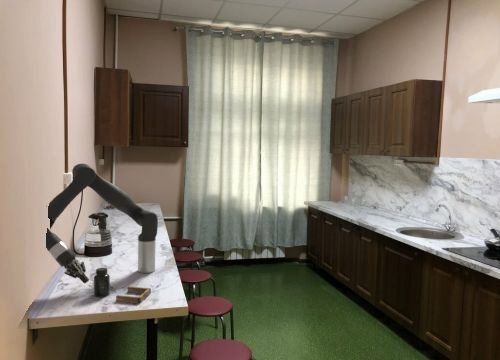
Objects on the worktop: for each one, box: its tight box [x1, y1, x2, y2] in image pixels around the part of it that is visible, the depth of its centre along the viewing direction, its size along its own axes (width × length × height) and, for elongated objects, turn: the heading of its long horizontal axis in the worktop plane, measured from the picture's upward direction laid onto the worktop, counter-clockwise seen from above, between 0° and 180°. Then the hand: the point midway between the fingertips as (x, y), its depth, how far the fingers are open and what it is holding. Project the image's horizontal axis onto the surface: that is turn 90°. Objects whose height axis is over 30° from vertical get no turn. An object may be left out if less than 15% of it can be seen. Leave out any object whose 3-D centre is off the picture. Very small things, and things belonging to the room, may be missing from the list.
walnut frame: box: [115, 286, 152, 305], centre depth 174 cm, size 12×11×2 cm
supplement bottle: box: [93, 267, 111, 298], centre depth 176 cm, size 7×7×12 cm
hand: (87, 281), depth 177 cm, fingers closed
